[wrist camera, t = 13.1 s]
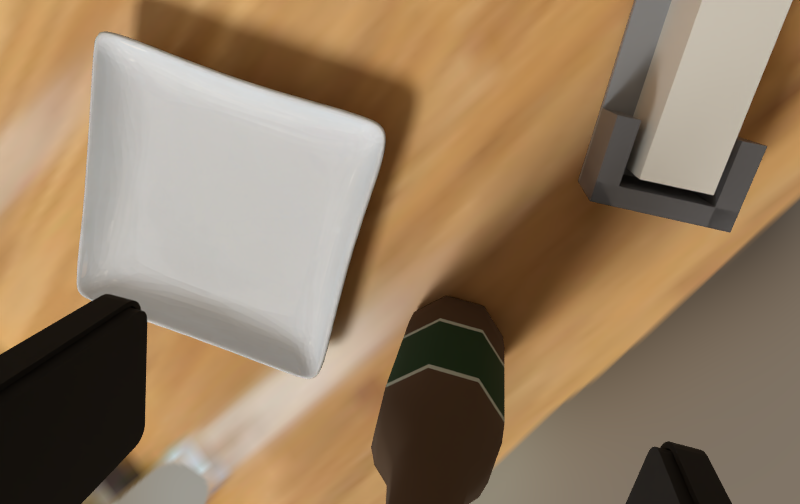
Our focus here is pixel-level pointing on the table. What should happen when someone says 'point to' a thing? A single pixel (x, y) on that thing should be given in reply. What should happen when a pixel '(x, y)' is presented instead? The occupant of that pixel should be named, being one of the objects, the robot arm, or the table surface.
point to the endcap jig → (619, 128)
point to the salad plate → (221, 203)
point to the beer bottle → (442, 407)
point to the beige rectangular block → (701, 88)
